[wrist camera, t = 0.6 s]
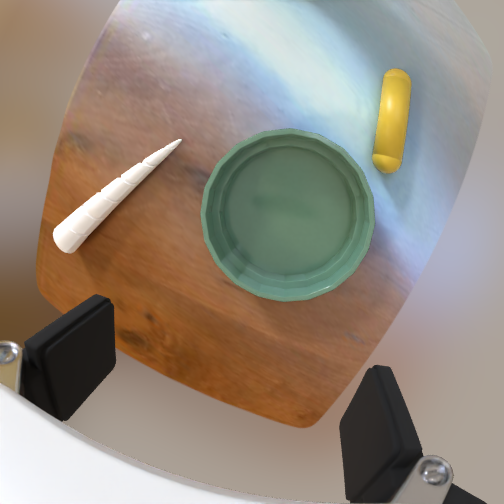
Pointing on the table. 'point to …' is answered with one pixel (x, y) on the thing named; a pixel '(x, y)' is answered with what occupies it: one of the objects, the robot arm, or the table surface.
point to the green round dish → (287, 215)
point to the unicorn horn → (104, 202)
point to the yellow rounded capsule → (392, 121)
